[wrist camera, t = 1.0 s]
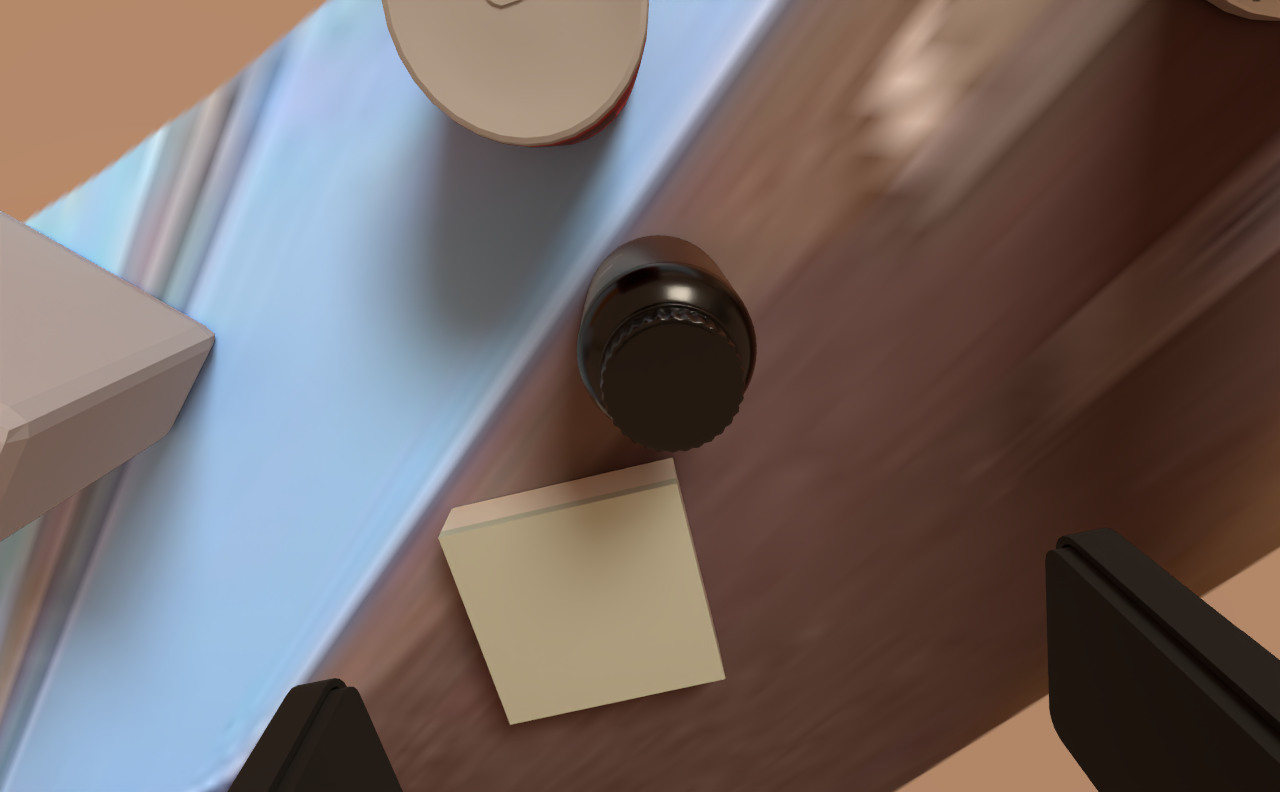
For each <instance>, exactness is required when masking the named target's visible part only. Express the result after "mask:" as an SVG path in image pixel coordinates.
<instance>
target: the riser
mask: <svg viewBox="0 0 1280 792" xmlns="http://www.w3.org/2000/svg"><path fill="white" fill-rule="evenodd" d="M439 541H440V543H441V546H442V549H443V551H444V554H445V556H446V559H447V562H448V564H449V567H450V569H451V572H452V575H453V577H454V580H455V582H456V585H457V588H458V590H459V593H460V595H461V598H462V601H463V603H464V606H465V608H466V611H467V614H468V616H469V619H470V621H471V624H472V627H473V629H474V632H475V634H476V637H477V640H478V642H479V645H480V647H481V650H482V653H483V655H484V658H485V660H486V663H487V666H488V668H489V671H490V673H491V676H492V679H493V681H494V684H495V686H496V689H497V692H498V694H499V697H500V699H501V702H502V705H503V707H504V710H505V712H506V715H507V718H508V720H509V723H510V725H511V724H516V723H521V722H525V721H530V720H535V719H540V718H544V717H549V716H554V715H558V714H563V713H568V712H572V711H577V710H582V709H586V708H591V707H596V706H601V705H605V704H610V703H615V702H619V701H624V700H629V699H633V698H638V697H643V696H647V695H652V694H657V693H662V692H666V691H671V690H676V689H680V688H685V687H690V686H694V685H699V684H704V683H708V682H713V681H718V680H723V679H725V674H724V669H723V664H722V659H721V654H720V649H719V644H718V640H717V636H716V632H715V628H714V624H713V619H712V615H711V611H710V607H709V603H708V599H707V595H706V591H705V587H704V583H703V579H702V575H701V571H700V567H699V563H698V559H697V554H696V550H695V546H694V542H693V538H692V534H691V530H690V526H689V522H688V518H687V514H686V510H685V506H684V502H683V498H682V494H681V490H680V485H679V481H678V477H677V473H676V469H675V465H674V461H673V458H668V459H664V460H660V461H655V462H651V463H647V464H642V465H638V466H634V467H629V468H625V469H621V470H616V471H612V472H608V473H603V474H599V475H595V476H590V477H586V478H582V479H577V480H573V481H569V482H564V483H560V484H556V485H551V486H547V487H543V488H538V489H534V490H530V491H525V492H521V493H517V494H512V495H508V496H504V497H499V498H495V499H491V500H486V501H482V502H478V503H473V504H469V505H465V506H460V507H456V508H452V509H451V512H450V514H449V516H448V518H447V520H446V522H445V525H444V527H443V529H442V531H441V533H440V535H439Z"/></svg>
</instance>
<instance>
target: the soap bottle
mask: <svg viewBox="0 0 1280 792" xmlns="http://www.w3.org/2000/svg"><path fill="white" fill-rule="evenodd" d="M214 339H215V334H214V333H213V332H212V331H210V330H209V329H208V328H207V327H206V326H204V325H203V324H201V323H199V322H197V321H195V320H194V319H192V318H190V317H188V316H187V315H185V314H183V313H181V312H180V311H178V310H176V309H174V308H172V307H171V306H169V305H167V304H165V303H164V302H162V301H160V300H158V299H156V298H155V297H153V296H151V295H149V294H148V293H146V292H144V291H142V290H141V289H139V288H137V287H135V286H133V285H132V284H130V283H128V282H126V281H125V280H123V279H121V278H119V277H117V276H116V275H114V274H112V273H110V272H109V271H107V270H105V269H103V268H102V267H100V266H98V265H96V264H94V263H93V262H91V261H89V260H87V259H86V258H84V257H82V256H80V255H78V254H77V253H75V252H73V251H71V250H70V249H68V248H66V247H64V246H63V245H61V244H59V243H57V242H55V241H54V240H52V239H50V238H48V237H47V236H45V235H43V234H41V233H39V232H38V231H36V230H34V229H32V228H31V227H29V226H27V225H25V224H24V223H22V222H20V221H18V220H16V219H14V218H13V217H11V216H9V215H8V214H6V213H4V212H2V211H0V541H2V540H4V539H5V538H7V537H8V536H10V535H11V534H13V533H15V532H16V531H18V530H19V529H21V528H22V527H24V526H26V525H27V524H29V523H30V522H32V521H33V520H35V519H36V518H38V517H40V516H41V515H43V514H44V513H46V512H47V511H49V510H51V509H52V508H54V507H55V506H57V505H58V504H60V503H62V502H63V501H65V500H66V499H68V498H69V497H71V496H73V495H74V494H76V493H77V492H79V491H80V490H82V489H83V488H85V487H87V486H88V485H90V484H91V483H93V482H94V481H96V480H98V479H99V478H101V477H102V476H104V475H105V474H107V473H109V472H110V471H112V470H113V469H115V468H116V467H118V466H119V465H121V464H123V463H124V462H126V461H127V460H129V459H130V458H132V457H134V456H135V455H137V454H138V453H140V452H141V451H143V450H145V449H146V448H148V447H149V446H151V445H152V444H154V443H155V442H157V441H159V440H160V439H161V438H163V437H164V436H165V435H166V434H168V432H169V431H170V429H171V427H172V426H173V424H174V422H175V420H176V418H177V416H178V414H179V412H180V410H181V408H182V406H183V404H184V402H185V400H186V398H187V396H188V394H189V392H190V390H191V388H192V386H193V384H194V382H195V380H196V378H197V376H198V374H199V372H200V370H201V368H202V366H203V364H204V361H205V359H206V357H207V355H208V353H209V351H210V349H211V347H212V345H213V343H214Z"/></svg>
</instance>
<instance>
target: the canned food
mask: <svg viewBox="0 0 1280 792" xmlns="http://www.w3.org/2000/svg"><path fill="white" fill-rule="evenodd" d="M382 4H383V8H384V13H385V18H386V22H387V27H388V30H389V32H390V35H391V37H392V40H393V42H394V45H395V47H396V50H397V52H398V55H399V57H400V59H401V60H402V62H403V64H404V65H405V67H406V69H407V70H408V72H409V74H410V75H411V77H412V79H413V80H414V82H415V83H416V84H417V85H418V86H419V88H420V89H421V90H422V91H423V92H424V93H425V95H426V96H427V97H428V98H429V99H430V100H431V102H432V103H433V104H435V105H436V106H437V107H438V108H439V109H441V110H442V111H443V112H444V113H445V114H447V115H448V116H449V117H450V118H451V119H453V120H454V121H455V122H456V123H458V124H460V125H461V126H463V127H465V128H467V129H468V130H470V131H472V132H474V133H476V134H477V135H479V136H482V137H485V138H488V139H491V140H494V141H497V142H500V143H503V144H509V145H517V146H526V147H547V146H560V145H570V144H574V143H577V142H580V141H583V140H586V139H589V138H590V137H592V136H594V135H595V134H597V133H599V132H600V131H602V130H603V129H604V128H605V127H606V126H608V125H609V124H610V123H611V122H612V121H613V120H614V119H615V118H616V117H617V115H618V114H619V112H620V111H621V110H622V108H623V107H624V105H625V104H626V102H627V100H628V98H629V95H630V93H631V91H632V89H633V87H634V83H635V80H636V77H637V73H638V70H639V67H640V63H641V59H642V55H643V51H644V46H645V42H646V36H647V24H648V9H649V1H648V0H382Z"/></svg>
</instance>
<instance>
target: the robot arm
mask: <svg viewBox="0 0 1280 792" xmlns="http://www.w3.org/2000/svg"><path fill="white" fill-rule="evenodd" d="M1207 1H1208V2H1210V3H1211V4H1213V5H1215V6H1216V7H1218V8H1220V9H1221V10H1223V11H1225V12H1227V13H1230V14H1234V15H1237V16H1240V17H1243V18H1247V19H1251V20H1266V21H1280V0H1207ZM1045 567H1046V603H1047V639H1048V676H1049V709H1050V715H1051V719H1052V722H1053V725H1054V728H1055V730H1056V732H1057V734H1058V736H1059V738H1060V739H1061V741H1062V742H1063V743H1064V745H1065V746H1066V748H1067V749H1068V750H1069V752H1070V753H1071V754H1072V756H1073V757H1074V759H1075V760H1076V761H1077V763H1078V764H1079V766H1080V767H1081V768H1082V770H1083V771H1084V772H1085V774H1086V775H1087V776H1088V778H1089V779H1090V781H1091V782H1092V783H1093V785H1094V786H1095V787H1096V789H1097V790H1098V792H1280V660H1279V659H1278V658H1276V657H1275V656H1274V655H1272V654H1271V653H1270V652H1269V651H1267V650H1266V649H1265V648H1264V647H1262V646H1261V645H1260V644H1259V643H1257V642H1256V641H1255V640H1253V639H1252V638H1251V637H1250V636H1248V635H1247V634H1246V633H1245V632H1243V631H1242V630H1240V629H1239V628H1237V627H1236V626H1235V625H1233V624H1232V623H1231V622H1230V621H1228V620H1227V619H1226V618H1225V617H1223V616H1222V615H1221V614H1219V613H1218V612H1217V611H1216V610H1215V609H1213V608H1212V607H1211V606H1210V605H1208V604H1207V603H1206V602H1204V601H1203V600H1202V599H1201V598H1199V597H1198V596H1197V595H1196V594H1194V593H1193V592H1192V591H1191V590H1189V589H1188V588H1187V587H1186V586H1184V585H1183V584H1182V583H1181V582H1179V581H1178V580H1177V579H1175V578H1174V577H1173V576H1172V575H1170V574H1169V573H1168V572H1167V571H1165V570H1164V569H1163V568H1162V567H1160V566H1159V565H1158V564H1156V563H1155V562H1154V561H1153V560H1151V559H1150V558H1149V557H1148V556H1146V555H1145V554H1144V553H1143V552H1141V551H1140V550H1139V549H1138V548H1136V547H1135V546H1134V545H1132V544H1131V543H1130V542H1129V541H1127V540H1126V539H1125V538H1124V537H1122V536H1121V535H1120V534H1119V533H1117V532H1116V531H1114V530H1112V529H1110V528H1101V529H1096V530H1091V531H1086V532H1081V533H1076V534H1071V535H1066V536H1062V537H1061V538H1059V539H1058V542H1057V544H1056V549H1055V550H1050V551H1048V552H1047V554H1046V560H1045ZM228 792H403V791H402V789H401V787H400V784H399V782H398V780H397V778H396V775H395V773H394V771H393V768H392V766H391V764H390V762H389V759H388V757H387V755H386V753H385V750H384V748H383V746H382V744H381V741H380V739H379V737H378V734H377V732H376V730H375V728H374V725H373V723H372V721H371V719H370V716H369V714H368V712H367V709H366V707H365V705H364V703H363V700H362V698H361V696H360V694H359V692H358V690H357V689H356V688H354V687H347V686H346V685H345V683H344V682H343V681H342V680H340V679H336V678H334V679H328V680H323V681H318V682H313V683H308V684H303V685H298V686H296V687H294V688H292V689H291V690H290V691H289V693H288V694H287V695H286V697H285V699H284V700H283V702H282V703H281V705H280V707H279V708H278V710H277V712H276V713H275V715H274V717H273V718H272V720H271V721H270V723H269V725H268V726H267V728H266V730H265V731H264V733H263V735H262V736H261V738H260V739H259V741H258V743H257V744H256V746H255V748H254V749H253V751H252V753H251V754H250V756H249V757H248V759H247V761H246V762H245V764H244V766H243V767H242V769H241V771H240V772H239V774H238V775H237V777H236V779H235V780H234V782H233V784H232V785H231V787H230V789H229V790H228Z"/></svg>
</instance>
